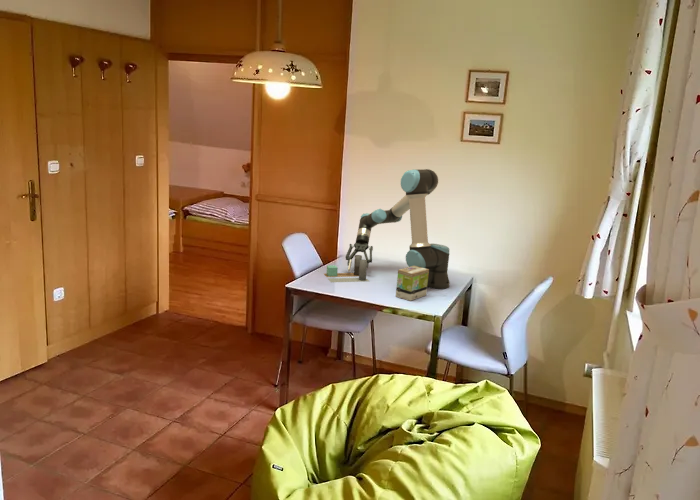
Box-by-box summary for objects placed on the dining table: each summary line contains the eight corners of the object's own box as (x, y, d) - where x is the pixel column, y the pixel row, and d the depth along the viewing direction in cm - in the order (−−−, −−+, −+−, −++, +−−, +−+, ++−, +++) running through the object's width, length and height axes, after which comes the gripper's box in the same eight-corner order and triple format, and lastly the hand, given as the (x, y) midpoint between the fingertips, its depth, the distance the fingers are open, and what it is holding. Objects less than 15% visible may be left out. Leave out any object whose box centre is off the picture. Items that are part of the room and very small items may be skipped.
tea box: (411, 301, 313) (413, 273, 310) (395, 296, 319) (397, 269, 316) (427, 295, 325) (429, 268, 321) (411, 291, 331) (413, 264, 327)
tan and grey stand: (363, 277, 349) (365, 257, 346) (326, 278, 343) (327, 258, 340) (360, 274, 356) (361, 254, 353) (323, 275, 350) (324, 254, 347)
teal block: (337, 276, 346) (337, 267, 344) (328, 276, 344) (329, 267, 343) (334, 273, 350) (335, 265, 349) (326, 274, 349) (326, 265, 348)
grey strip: (369, 283, 340) (370, 262, 337) (330, 284, 334) (331, 262, 331) (365, 279, 347) (366, 258, 344) (327, 280, 340) (328, 259, 338)
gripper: (380, 242, 361) (374, 276, 349) (346, 239, 364) (339, 272, 353) (380, 235, 354) (374, 269, 343) (345, 232, 358) (337, 265, 346)
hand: (356, 271), depth 348 cm, fingers open, 8 cm apart
